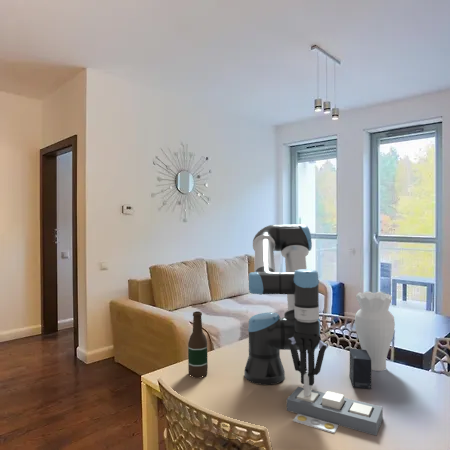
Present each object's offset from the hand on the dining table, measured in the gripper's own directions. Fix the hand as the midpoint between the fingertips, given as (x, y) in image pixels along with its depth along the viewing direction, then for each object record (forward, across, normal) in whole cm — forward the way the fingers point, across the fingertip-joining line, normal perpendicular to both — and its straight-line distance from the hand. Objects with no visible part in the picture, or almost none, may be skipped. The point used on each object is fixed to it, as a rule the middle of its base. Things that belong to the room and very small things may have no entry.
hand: (307, 394), depth 114 cm
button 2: (+1, +8, 0) cm, 8 cm away
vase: (+4, +12, +44) cm, 46 cm away
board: (+4, +8, 0) cm, 9 cm away
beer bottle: (+4, -45, +3) cm, 45 cm away
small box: (+4, +10, +27) cm, 29 cm away
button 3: (+3, +16, 0) cm, 16 cm away
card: (+4, +5, -8) cm, 10 cm away
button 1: (+3, 0, 0) cm, 3 cm away
